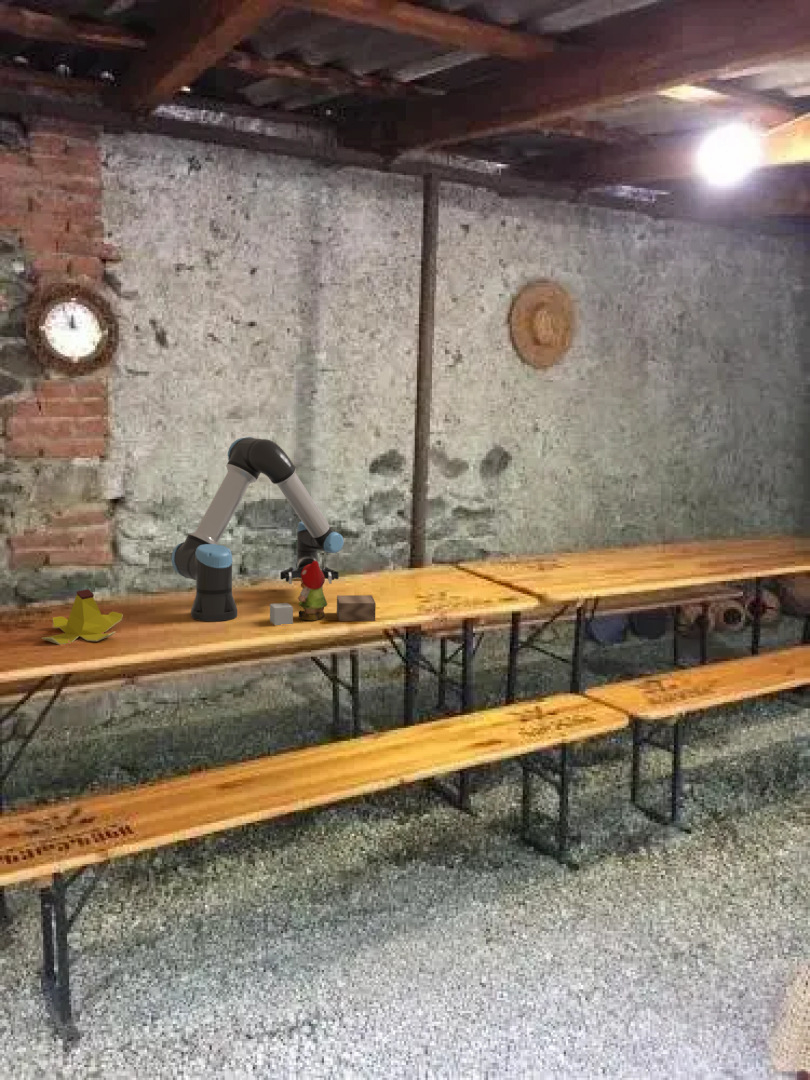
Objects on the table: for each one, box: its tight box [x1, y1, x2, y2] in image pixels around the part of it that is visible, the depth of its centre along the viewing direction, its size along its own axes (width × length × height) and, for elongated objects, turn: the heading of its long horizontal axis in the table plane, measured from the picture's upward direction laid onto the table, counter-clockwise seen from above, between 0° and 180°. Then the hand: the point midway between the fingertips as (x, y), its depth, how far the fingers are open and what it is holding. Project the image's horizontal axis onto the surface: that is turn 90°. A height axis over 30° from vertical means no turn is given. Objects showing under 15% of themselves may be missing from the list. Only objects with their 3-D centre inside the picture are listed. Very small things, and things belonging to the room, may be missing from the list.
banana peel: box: [41, 589, 124, 646], centre depth 297 cm, size 25×27×15 cm
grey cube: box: [269, 602, 294, 626], centre depth 318 cm, size 6×6×6 cm
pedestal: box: [336, 594, 377, 622], centre depth 330 cm, size 12×12×6 cm
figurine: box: [297, 560, 328, 621], centre depth 324 cm, size 11×9×20 cm
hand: (310, 580), depth 334 cm, fingers open, 13 cm apart
